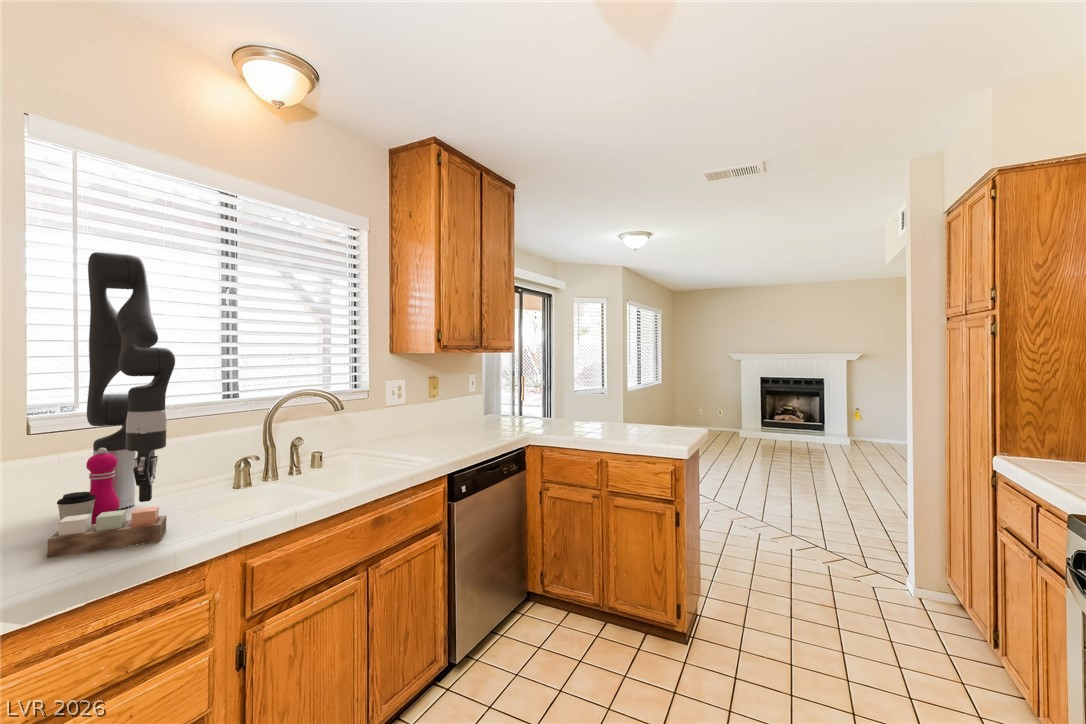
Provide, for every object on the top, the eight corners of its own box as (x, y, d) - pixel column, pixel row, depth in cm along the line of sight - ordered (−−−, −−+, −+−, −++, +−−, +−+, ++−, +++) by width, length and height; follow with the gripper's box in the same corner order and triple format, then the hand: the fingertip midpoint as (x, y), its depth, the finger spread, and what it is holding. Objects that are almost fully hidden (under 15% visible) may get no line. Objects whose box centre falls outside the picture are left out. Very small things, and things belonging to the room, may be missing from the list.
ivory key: (58, 542, 105) (58, 522, 105) (65, 536, 109) (65, 516, 109) (85, 538, 107) (85, 519, 107) (91, 532, 111) (91, 513, 111)
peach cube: (131, 532, 111) (131, 513, 111) (135, 527, 115) (135, 508, 115) (155, 529, 114) (155, 510, 114) (158, 524, 117) (158, 506, 117)
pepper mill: (96, 529, 120) (97, 450, 120) (74, 526, 122) (75, 449, 122) (126, 520, 127) (127, 446, 128) (105, 518, 129) (106, 444, 129)
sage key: (95, 537, 108) (96, 517, 108) (101, 531, 112) (101, 512, 112) (121, 534, 110) (121, 514, 110) (125, 528, 114) (126, 509, 114)
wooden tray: (46, 557, 103) (47, 538, 103) (60, 545, 110) (60, 527, 110) (160, 541, 113) (160, 523, 113) (166, 531, 120) (166, 514, 120)
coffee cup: (103, 531, 119) (103, 491, 119) (71, 541, 112) (72, 499, 112) (80, 529, 120) (81, 489, 120) (47, 539, 113) (48, 497, 113)
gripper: (132, 427, 118) (131, 496, 118) (119, 433, 107) (117, 510, 107) (170, 425, 122) (169, 492, 122) (161, 431, 111) (160, 505, 111)
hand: (145, 500), depth 114 cm, fingers closed
